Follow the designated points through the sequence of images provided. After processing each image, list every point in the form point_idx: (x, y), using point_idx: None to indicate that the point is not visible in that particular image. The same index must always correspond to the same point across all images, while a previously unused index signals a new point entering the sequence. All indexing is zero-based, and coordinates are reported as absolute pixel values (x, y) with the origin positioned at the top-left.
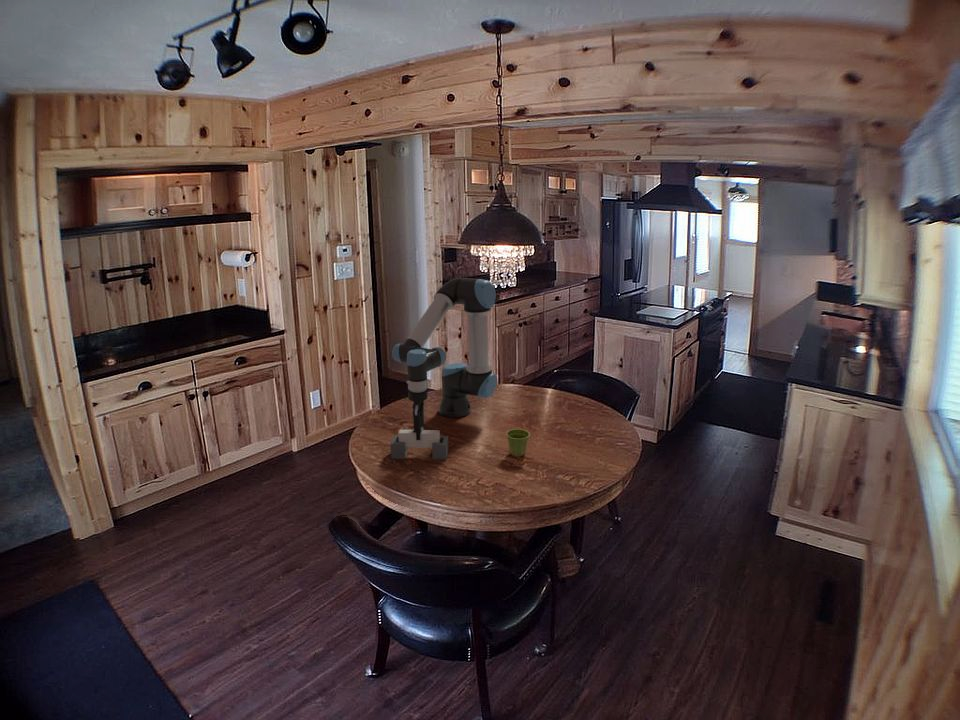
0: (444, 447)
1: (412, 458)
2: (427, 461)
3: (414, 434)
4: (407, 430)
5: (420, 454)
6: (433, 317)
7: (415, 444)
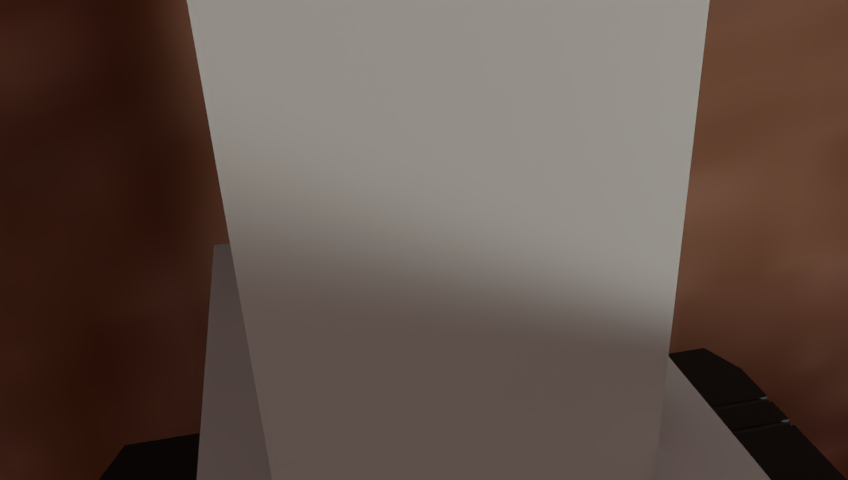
0: None
1: (160, 86)
2: (106, 379)
3: (269, 453)
4: (586, 87)
5: None
6: None
7: (211, 284)
